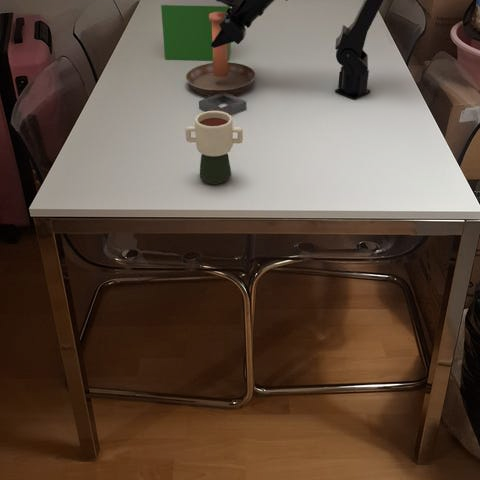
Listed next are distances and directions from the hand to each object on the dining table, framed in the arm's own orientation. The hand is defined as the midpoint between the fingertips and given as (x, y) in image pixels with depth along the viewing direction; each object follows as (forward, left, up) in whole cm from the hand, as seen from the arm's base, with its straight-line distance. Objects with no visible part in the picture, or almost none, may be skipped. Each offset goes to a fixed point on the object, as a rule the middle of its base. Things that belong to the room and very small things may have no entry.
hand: (214, 42), depth 159 cm
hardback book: (+19, -10, -11) cm, 24 cm away
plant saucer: (-1, -1, -11) cm, 12 cm away
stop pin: (-1, -1, -8) cm, 8 cm away
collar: (-12, +8, -11) cm, 18 cm away
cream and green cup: (-35, +30, -11) cm, 48 cm away
